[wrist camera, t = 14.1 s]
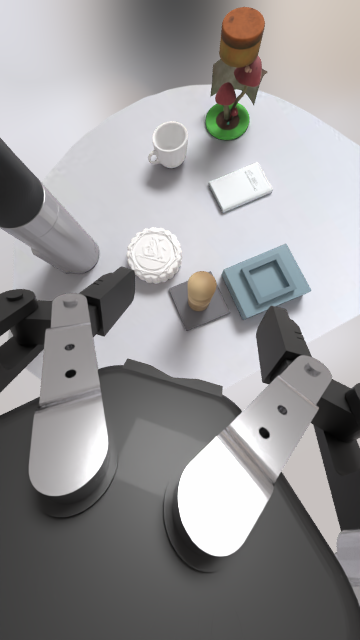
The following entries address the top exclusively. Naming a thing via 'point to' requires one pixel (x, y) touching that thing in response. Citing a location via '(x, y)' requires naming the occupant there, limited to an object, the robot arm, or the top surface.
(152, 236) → the mooncake
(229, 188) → the external hard drive
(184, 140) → the teacup
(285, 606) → the robot arm
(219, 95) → the mushroom figurine
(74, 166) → the top surface
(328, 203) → the top surface
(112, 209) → the top surface
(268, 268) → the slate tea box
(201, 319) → the grey rubber coaster
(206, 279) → the oak stopper
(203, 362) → the top surface
